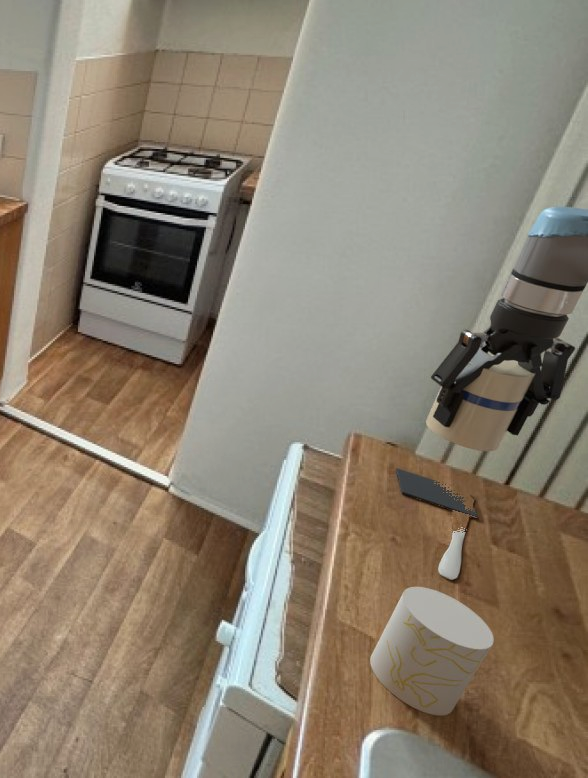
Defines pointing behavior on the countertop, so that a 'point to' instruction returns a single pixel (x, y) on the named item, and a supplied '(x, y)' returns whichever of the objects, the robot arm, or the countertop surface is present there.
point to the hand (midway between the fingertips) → (474, 425)
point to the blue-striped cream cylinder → (486, 407)
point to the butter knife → (452, 557)
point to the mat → (430, 491)
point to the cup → (430, 650)
